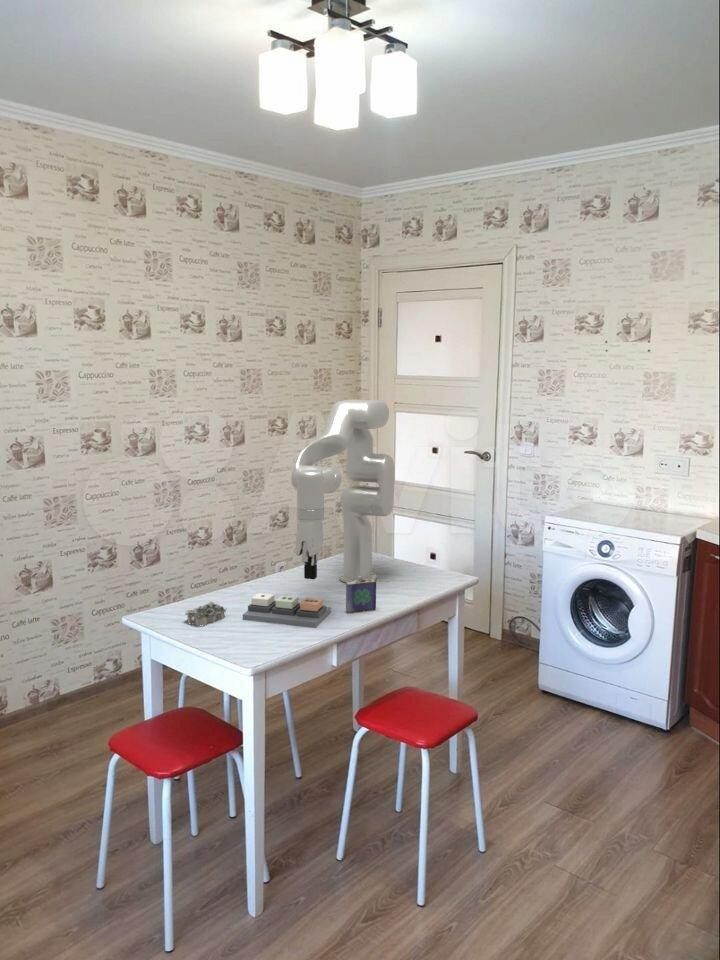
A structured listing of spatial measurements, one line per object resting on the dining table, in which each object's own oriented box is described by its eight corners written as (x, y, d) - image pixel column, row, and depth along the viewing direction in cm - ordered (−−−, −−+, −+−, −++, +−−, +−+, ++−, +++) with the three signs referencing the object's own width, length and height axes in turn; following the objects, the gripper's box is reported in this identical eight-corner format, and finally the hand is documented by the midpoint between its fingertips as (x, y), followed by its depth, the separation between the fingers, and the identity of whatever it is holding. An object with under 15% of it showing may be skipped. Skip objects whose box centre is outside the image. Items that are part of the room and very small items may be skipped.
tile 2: (282, 601, 220) (282, 594, 220) (298, 603, 219) (298, 596, 219) (275, 607, 216) (275, 599, 215) (292, 608, 214) (291, 601, 214)
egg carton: (199, 629, 209) (199, 615, 208) (182, 622, 213) (182, 609, 212) (229, 618, 217) (229, 604, 216) (212, 612, 221) (211, 599, 221)
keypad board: (261, 605, 227) (261, 595, 227) (330, 612, 221) (330, 602, 220) (242, 619, 215) (242, 609, 214) (315, 627, 209) (315, 617, 208)
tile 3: (306, 604, 218) (306, 596, 218) (322, 605, 217) (322, 598, 217) (300, 609, 214) (300, 602, 213) (317, 611, 212) (316, 604, 212)
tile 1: (258, 599, 223) (258, 592, 222) (274, 600, 221) (274, 593, 221) (251, 604, 218) (251, 597, 218) (267, 606, 216) (267, 599, 216)
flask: (347, 614, 220) (347, 578, 218) (344, 610, 222) (344, 575, 221) (377, 610, 223) (377, 575, 221) (373, 607, 225) (374, 572, 224)
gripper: (307, 508, 219) (307, 570, 221) (287, 518, 205) (288, 584, 207) (331, 510, 217) (331, 572, 219) (313, 520, 203) (314, 586, 205)
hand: (310, 578), depth 213 cm, fingers closed
